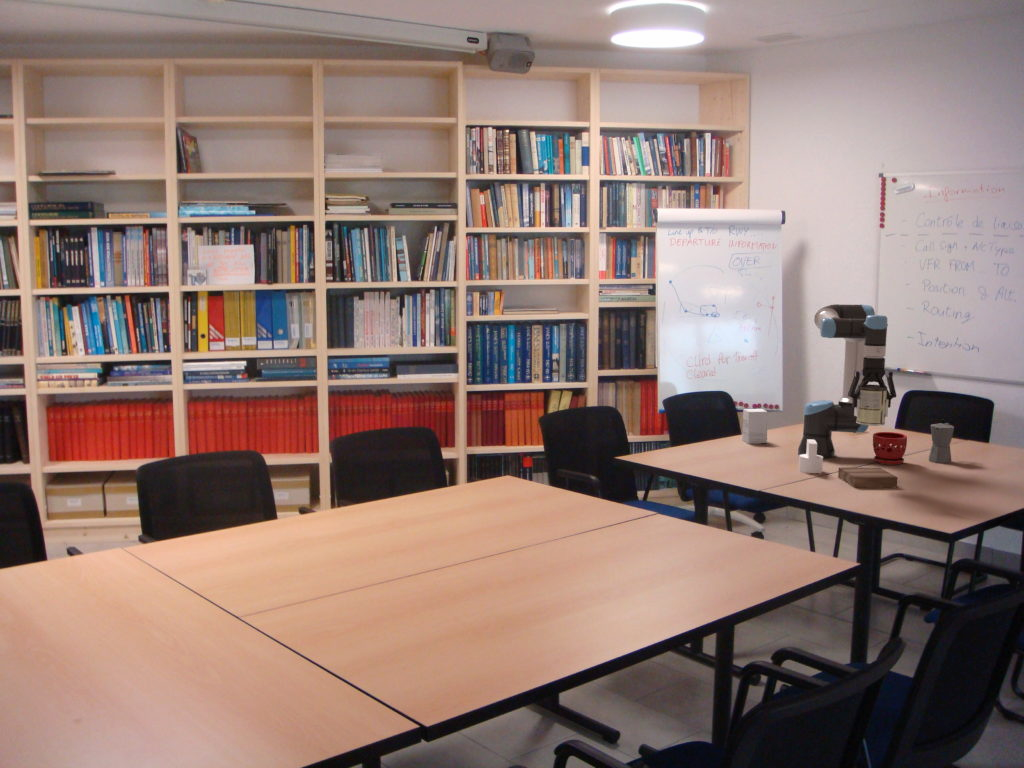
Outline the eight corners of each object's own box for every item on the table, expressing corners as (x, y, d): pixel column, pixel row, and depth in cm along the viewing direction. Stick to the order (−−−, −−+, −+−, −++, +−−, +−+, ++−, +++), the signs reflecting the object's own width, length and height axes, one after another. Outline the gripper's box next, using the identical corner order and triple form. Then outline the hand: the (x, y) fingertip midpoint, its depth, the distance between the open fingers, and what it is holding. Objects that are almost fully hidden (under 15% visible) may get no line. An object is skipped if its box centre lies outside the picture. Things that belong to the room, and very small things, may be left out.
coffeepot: (946, 465, 384) (949, 422, 381) (922, 462, 390) (925, 419, 388) (958, 459, 395) (961, 417, 393) (935, 456, 401) (938, 415, 399)
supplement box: (760, 440, 434) (762, 408, 432) (767, 443, 425) (768, 411, 423) (741, 440, 434) (742, 408, 432) (747, 444, 425) (748, 411, 423)
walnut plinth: (838, 477, 361) (838, 467, 360) (879, 477, 361) (879, 467, 360) (854, 487, 345) (854, 477, 344) (896, 487, 345) (897, 477, 345)
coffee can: (852, 420, 355) (854, 384, 353) (880, 421, 354) (882, 384, 352) (859, 425, 345) (861, 387, 343) (888, 426, 344) (890, 388, 342)
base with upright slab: (823, 474, 366) (825, 444, 364) (799, 473, 368) (801, 443, 366) (820, 469, 375) (822, 439, 373) (797, 468, 377) (799, 438, 375)
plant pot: (870, 458, 396) (872, 430, 395) (904, 460, 392) (906, 432, 390) (871, 464, 384) (873, 436, 382) (906, 467, 380) (908, 438, 378)
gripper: (847, 357, 342) (844, 417, 345) (909, 358, 343) (905, 418, 346) (840, 355, 350) (837, 414, 353) (900, 356, 350) (896, 414, 353)
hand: (870, 416), depth 349 cm, fingers closed on coffee can, 10 cm apart
